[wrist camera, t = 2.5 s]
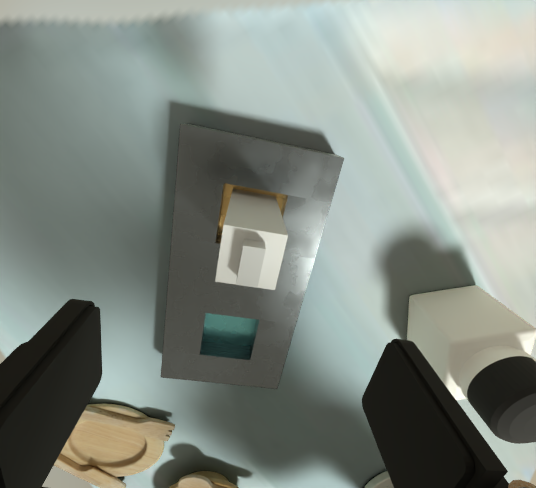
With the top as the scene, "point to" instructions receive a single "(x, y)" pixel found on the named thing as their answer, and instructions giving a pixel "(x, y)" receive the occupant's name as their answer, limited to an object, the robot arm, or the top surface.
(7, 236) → the top surface
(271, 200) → the plug
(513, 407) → the medicine bottle
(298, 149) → the panel
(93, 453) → the tableware set
